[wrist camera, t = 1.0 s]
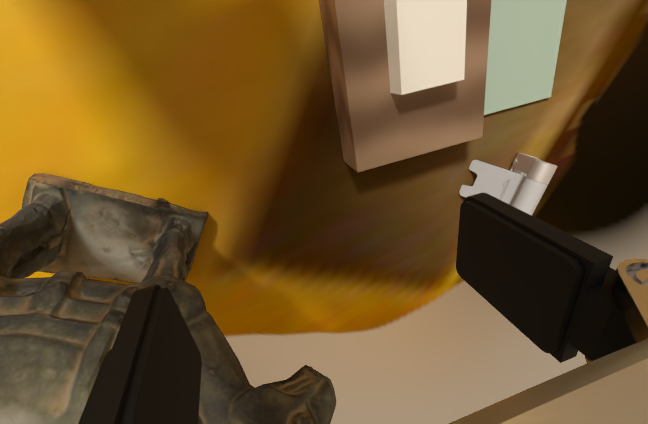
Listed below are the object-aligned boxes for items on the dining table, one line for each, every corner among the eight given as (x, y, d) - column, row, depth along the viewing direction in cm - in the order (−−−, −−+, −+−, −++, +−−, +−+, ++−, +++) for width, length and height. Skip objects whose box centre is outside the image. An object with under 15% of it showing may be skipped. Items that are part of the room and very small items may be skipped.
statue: (295, 230, 35) (410, 494, 14) (260, 301, 38) (310, 613, 17) (13, 144, 25) (-1414, 706, 3) (-6, 252, 28) (-824, 936, 6)
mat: (469, -121, 26) (472, -124, 26) (584, -135, 28) (589, -137, 28) (461, 120, 35) (463, 120, 35) (547, 96, 37) (550, 96, 37)
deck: (300, -119, 23) (314, -151, 20) (464, -137, 25) (502, -168, 22) (343, 161, 33) (357, 172, 30) (457, 129, 36) (482, 137, 32)
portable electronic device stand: (496, 213, 43) (550, 244, 36) (451, 208, 41) (501, 239, 33) (524, 153, 40) (590, 173, 33) (478, 143, 38) (540, 162, 30)
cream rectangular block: (381, -33, 23) (394, -41, 22) (451, -45, 24) (468, -53, 23) (390, 92, 28) (401, 95, 26) (449, 78, 29) (464, 79, 27)
